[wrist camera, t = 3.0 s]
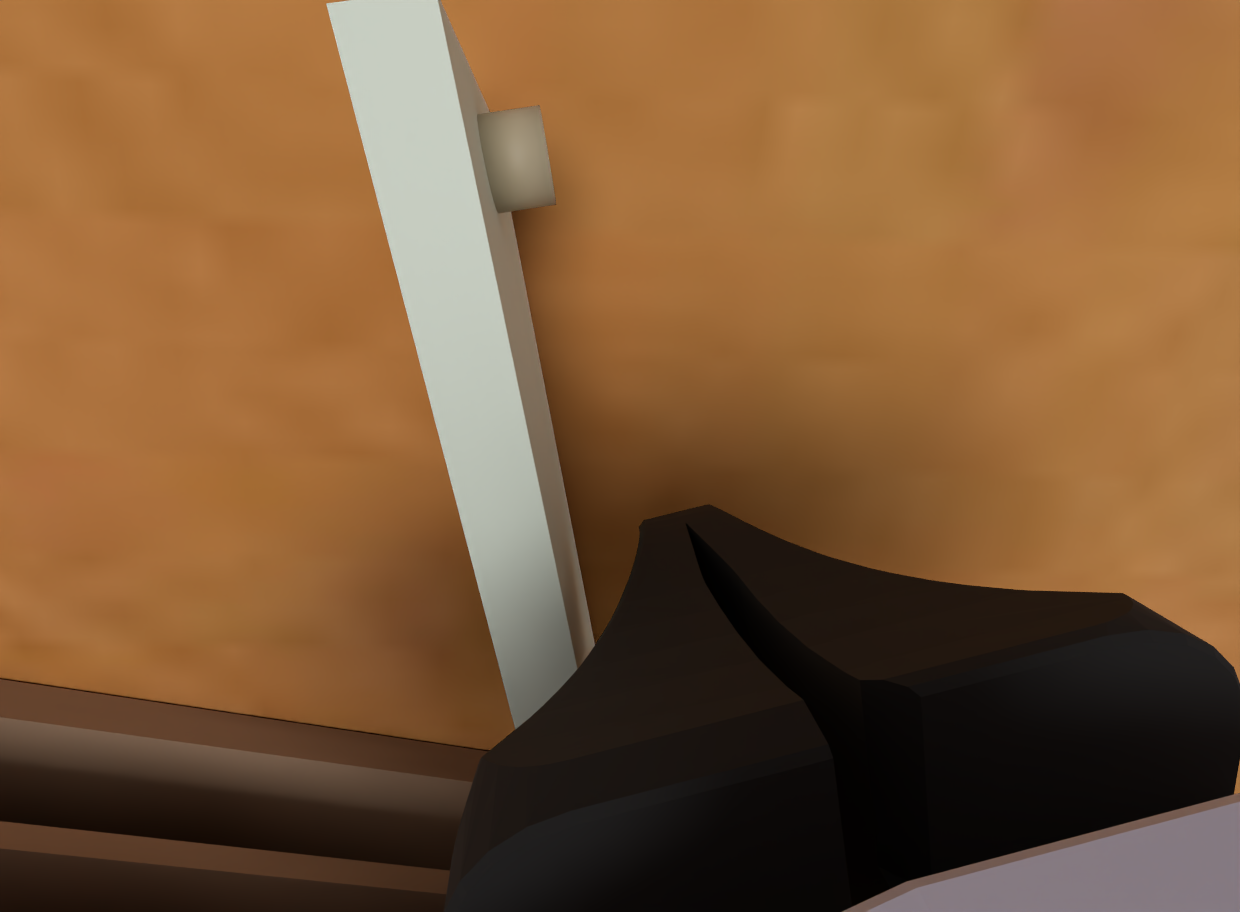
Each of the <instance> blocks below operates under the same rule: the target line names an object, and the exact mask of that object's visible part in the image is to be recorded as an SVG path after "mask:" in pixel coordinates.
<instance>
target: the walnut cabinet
mask: <svg viewBox="0 0 1240 912" xmlns="http://www.w3.org/2000/svg"><path fill="white" fill-rule="evenodd" d="M487 752H489V751H482V750H475V749H468V748H462V747H455V746H448V745H441V744H435V743H428V742H421V741H414V740H408V739H401V738H394V737H387V736H381V735H374V734H367V733H360V732H354V731H347V730H340V729H333V728H327V727H320V726H313V725H306V724H300V723H293V722H286V721H279V720H273V719H266V718H259V717H252V716H246V715H239V714H232V713H225V712H219V711H212V710H205V709H198V708H192V707H185V706H178V705H171V704H165V703H158V702H151V701H144V700H137V699H131V698H124V697H117V696H110V695H104V694H97V693H90V692H83V691H77V690H70V689H63V688H56V687H50V686H43V685H36V684H29V683H23V682H16V681H9V680H2V679H0V912H444V906H445V900H446V893H447V887H448V881H449V874H450V868H451V861H452V855H453V850H454V846H455V841H456V836H457V832H458V828H459V825H460V821H461V818H462V815H463V812H464V808H465V805H466V801H467V798H468V795H469V792H470V789H471V786H472V782H473V779H474V776H475V773H476V770H477V767H478V764H479V761H480V759H481V757H482V756H483V755H485V754H486V753H487Z"/></svg>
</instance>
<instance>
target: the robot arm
mask: <svg viewBox="0 0 1240 912" xmlns="http://www.w3.org/2000/svg"><path fill="white" fill-rule="evenodd" d="M639 530H640V538H639V544H638V549H637V554H636V557H635V561H634V564H633V568H632V571H631V574H630V577H629V580H628V582H627V585H626V587H625V590H624V592H623V594H622V597H621V599H620V602H619V604H618V606H617V608H616V610H615V612H614V614H613V616H612V618H611V620H610V622H609V623H608V625H607V627H606V628H605V630H604V632H603V634H602V635H601V637H600V639H599V640H598V641H597V643H596V644H595V646H594V647H593V649H592V650H591V652H590V653H589V655H588V656H587V657H586V659H585V660H584V661H583V663H582V664H581V665H580V667H579V668H578V669H577V670H576V671H575V673H574V674H573V675H572V676H571V677H570V678H569V679H568V680H567V681H566V682H565V684H564V685H563V686H562V687H561V688H560V689H559V690H558V691H557V692H556V693H555V694H554V695H553V696H552V697H551V698H550V699H549V700H548V701H547V702H546V703H545V704H544V705H543V706H542V707H541V708H540V709H539V710H538V711H537V712H535V713H534V714H533V715H532V716H531V717H530V718H529V719H527V720H526V721H525V722H524V723H523V724H521V725H520V726H519V727H518V728H517V729H515V730H514V731H513V732H512V733H511V734H509V735H508V736H507V737H506V738H505V739H503V740H502V741H501V742H500V743H499V744H497V745H496V746H495V747H494V748H492V749H491V750H490V751H489V752H487V753H486V754H485V755H483V756H482V757H481V759H480V761H479V764H478V767H477V770H476V773H475V776H474V779H473V782H472V786H471V789H470V792H469V795H468V798H467V801H466V805H465V808H464V812H463V815H462V818H461V821H460V825H459V828H458V832H457V836H456V841H455V846H454V850H453V855H452V861H451V868H450V874H449V881H448V887H447V893H446V900H445V906H444V912H1240V793H1238V794H1234V790H1235V784H1236V778H1237V772H1238V766H1239V760H1240V683H1239V680H1238V678H1237V675H1236V672H1235V670H1234V667H1233V666H1232V665H1231V664H1230V663H1229V662H1228V661H1227V660H1226V659H1225V658H1224V657H1223V656H1222V655H1221V654H1220V653H1219V652H1218V651H1217V650H1216V649H1215V648H1214V647H1213V646H1212V645H1210V644H1208V643H1207V642H1205V641H1203V640H1202V639H1200V638H1198V637H1196V636H1195V635H1193V634H1191V633H1190V632H1188V631H1186V630H1185V629H1183V628H1181V627H1180V626H1178V625H1176V624H1174V623H1173V622H1171V621H1169V620H1168V619H1166V618H1164V617H1163V616H1161V615H1159V614H1158V613H1156V612H1154V611H1152V610H1151V609H1149V608H1147V607H1146V606H1144V605H1142V604H1141V603H1139V602H1137V601H1136V600H1134V599H1132V598H1131V597H1129V596H1127V595H1125V594H1123V593H1097V592H1061V591H1027V590H1013V589H1002V588H991V587H981V586H970V585H961V584H954V583H946V582H939V581H932V580H926V579H921V578H915V577H910V576H904V575H899V574H893V573H889V572H884V571H880V570H875V569H871V568H867V567H863V566H860V565H856V564H852V563H849V562H845V561H842V560H838V559H834V558H831V557H828V556H825V555H822V554H819V553H816V552H814V551H811V550H808V549H806V548H803V547H800V546H798V545H795V544H792V543H790V542H787V541H785V540H783V539H780V538H778V537H776V536H773V535H771V534H769V533H767V532H765V531H762V530H760V529H758V528H756V527H754V526H752V525H750V524H748V523H746V522H744V521H742V520H740V519H738V518H736V517H734V516H732V515H730V514H728V513H726V512H724V511H722V510H720V509H718V508H716V507H714V506H712V505H709V504H708V505H704V506H700V507H696V508H691V509H687V510H683V511H679V512H675V513H671V514H667V515H663V516H659V517H655V518H651V519H646V520H644V521H643V522H642V523H641V525H640V526H639Z"/></svg>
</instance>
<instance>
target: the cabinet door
mask: <svg viewBox="0 0 1240 912" xmlns="http://www.w3.org/2000/svg"><path fill="white" fill-rule="evenodd" d="M327 8H328V12H329V16H330V19H331V23H332V27H333V31H334V35H335V39H336V42H337V46H338V50H339V54H340V58H341V62H342V66H343V69H344V73H345V77H346V81H347V85H348V89H349V92H350V96H351V100H352V104H353V108H354V112H355V115H356V119H357V123H358V127H359V131H360V135H361V138H362V142H363V146H364V150H365V154H366V158H367V162H368V165H369V169H370V173H371V177H372V181H373V185H374V188H375V192H376V196H377V200H378V204H379V208H380V211H381V215H382V219H383V223H384V227H385V231H386V234H387V238H388V242H389V246H390V250H391V254H392V258H393V261H394V265H395V269H396V273H397V277H398V281H399V284H400V288H401V292H402V296H403V300H404V304H405V307H406V311H407V315H408V319H409V323H410V327H411V330H412V334H413V338H414V342H415V346H416V350H417V353H418V357H419V361H420V365H421V369H422V373H423V377H424V380H425V384H426V388H427V392H428V396H429V400H430V403H431V407H432V411H433V415H434V419H435V423H436V426H437V430H438V434H439V438H440V442H441V446H442V449H443V453H444V457H445V461H446V465H447V469H448V473H449V476H450V480H451V484H452V488H453V492H454V496H455V499H456V503H457V507H458V511H459V515H460V519H461V522H462V526H463V530H464V534H465V538H466V542H467V545H468V549H469V553H470V557H471V561H472V565H473V569H474V572H475V576H476V580H477V584H478V588H479V592H480V595H481V599H482V603H483V607H484V611H485V615H486V618H487V622H488V626H489V630H490V634H491V638H492V641H493V645H494V649H495V653H496V657H497V661H498V665H499V668H500V672H501V676H502V680H503V684H504V688H505V691H506V695H507V699H508V703H509V707H510V711H511V714H512V718H513V722H514V726H515V729H517V728H518V727H519V726H520V725H521V724H523V723H524V722H525V721H526V720H527V719H529V718H530V717H531V716H532V715H533V714H534V713H535V712H537V711H538V710H539V709H540V708H541V707H542V706H543V705H544V704H545V703H546V702H547V701H548V700H549V699H550V698H551V697H552V696H553V695H554V694H555V693H556V692H557V691H558V690H559V689H560V688H561V687H562V686H563V685H564V684H565V682H566V681H567V680H568V679H569V678H570V677H571V676H572V675H573V674H574V673H575V671H576V670H577V669H578V668H579V667H580V665H581V664H582V663H583V661H584V660H585V659H586V657H587V656H588V655H589V653H590V652H591V650H592V649H593V647H594V646H595V643H594V637H593V632H592V627H591V622H590V617H589V612H588V606H587V601H586V596H585V591H584V586H583V581H582V576H581V570H580V565H579V560H578V555H577V550H576V545H575V539H574V534H573V529H572V524H571V519H570V514H569V508H568V503H567V498H566V493H565V488H564V483H563V478H562V472H561V467H560V462H559V457H558V452H557V447H556V441H555V436H554V431H553V426H552V421H551V416H550V410H549V405H548V400H547V395H546V390H545V385H544V379H543V374H542V369H541V364H540V359H539V354H538V349H537V343H536V338H535V333H534V328H533V323H532V318H531V312H530V307H529V302H528V297H527V292H526V287H525V281H524V276H523V271H522V266H521V261H520V256H519V251H518V245H517V240H516V235H515V230H514V225H513V220H512V214H511V211H517V210H524V209H530V208H537V207H543V206H550V205H556V200H555V193H554V187H553V180H552V174H551V168H550V162H549V156H548V150H547V144H546V138H545V133H544V127H543V121H542V116H541V111H540V106H539V105H538V106H531V107H525V108H518V109H511V110H504V111H497V112H490V111H489V109H488V107H487V104H486V102H485V100H484V98H483V95H482V93H481V91H480V89H479V86H478V84H477V82H476V80H475V77H474V75H473V73H472V70H471V68H470V66H469V64H468V61H467V59H466V57H465V55H464V52H463V50H462V48H461V46H460V43H459V41H458V39H457V37H456V34H455V32H454V30H453V28H452V25H451V23H450V21H449V18H448V16H447V14H446V12H445V9H444V7H443V5H442V3H441V0H350V1H342V2H335V3H327Z"/></svg>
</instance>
